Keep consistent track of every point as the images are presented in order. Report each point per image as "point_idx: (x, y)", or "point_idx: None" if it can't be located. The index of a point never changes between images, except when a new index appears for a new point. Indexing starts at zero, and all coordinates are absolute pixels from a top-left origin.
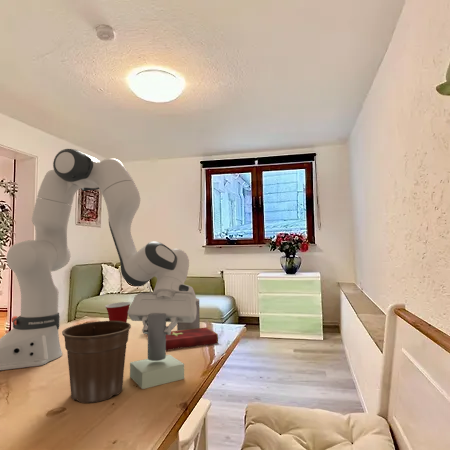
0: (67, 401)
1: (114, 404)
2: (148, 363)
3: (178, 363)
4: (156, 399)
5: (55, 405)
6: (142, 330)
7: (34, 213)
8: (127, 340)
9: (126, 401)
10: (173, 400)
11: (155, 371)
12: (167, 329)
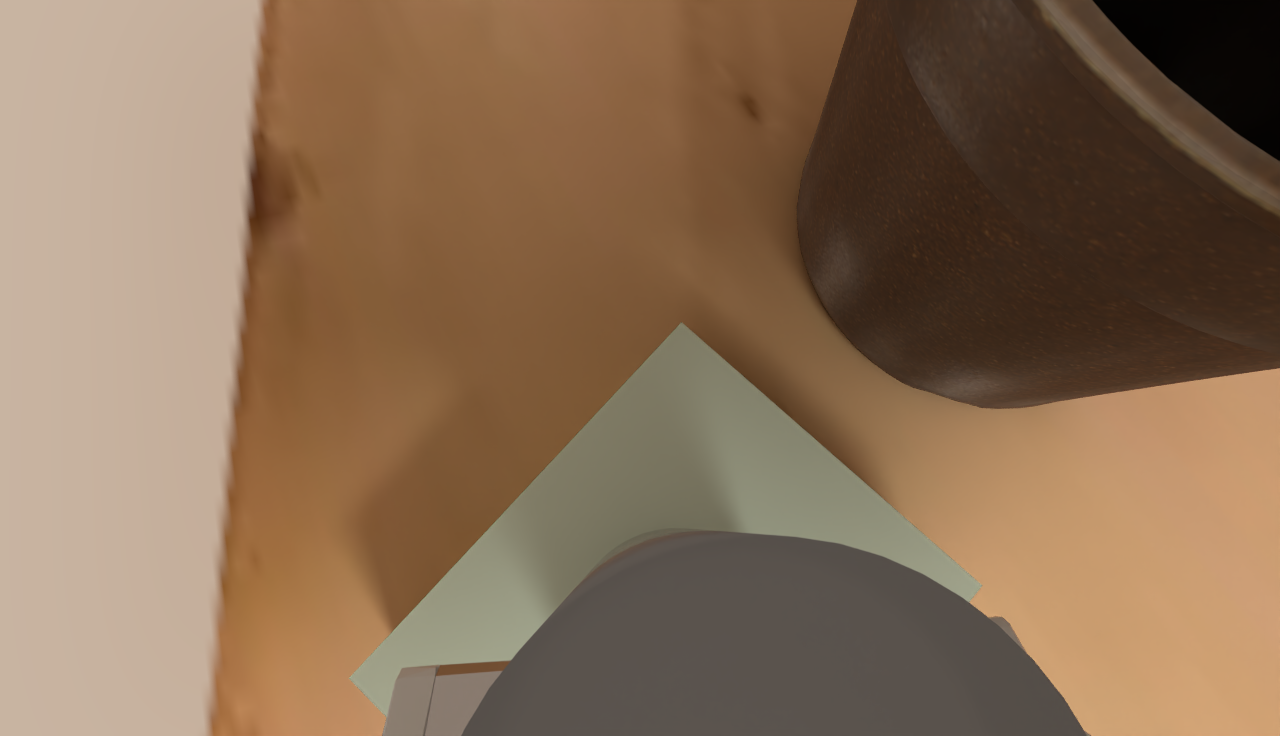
0: None
1: (736, 98)
2: None
3: None
4: (485, 223)
5: None
6: (999, 617)
7: None
8: (921, 68)
9: (681, 152)
10: (356, 235)
11: (590, 423)
12: (434, 704)
